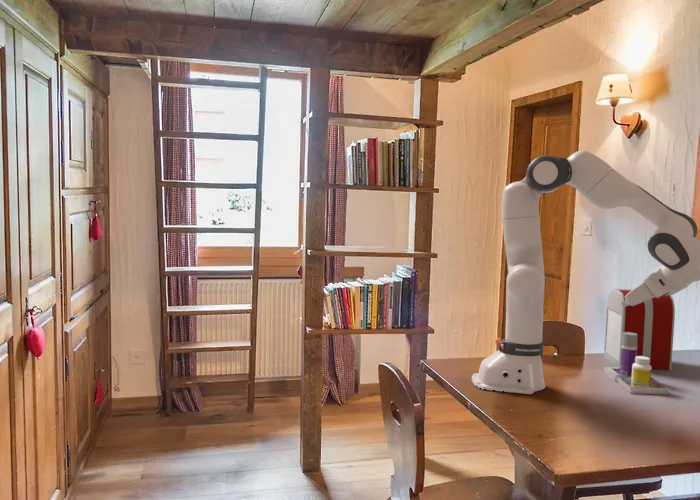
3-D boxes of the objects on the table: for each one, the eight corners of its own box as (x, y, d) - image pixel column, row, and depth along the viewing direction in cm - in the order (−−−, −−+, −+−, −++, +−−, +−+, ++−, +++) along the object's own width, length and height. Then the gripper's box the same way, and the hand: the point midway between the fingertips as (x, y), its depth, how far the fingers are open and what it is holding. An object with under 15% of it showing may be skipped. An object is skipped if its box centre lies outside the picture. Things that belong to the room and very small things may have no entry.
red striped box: (602, 355, 210) (606, 285, 208) (651, 357, 208) (656, 287, 206) (619, 368, 194) (624, 292, 191) (672, 371, 192) (677, 294, 190)
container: (637, 380, 180) (639, 335, 179) (621, 379, 181) (624, 334, 180) (632, 376, 185) (635, 332, 183) (617, 375, 186) (620, 331, 184)
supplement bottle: (652, 391, 170) (654, 360, 169) (633, 390, 171) (635, 359, 170) (647, 386, 175) (649, 355, 174) (628, 384, 176) (630, 354, 175)
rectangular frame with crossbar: (667, 394, 167) (668, 388, 167) (630, 393, 168) (630, 386, 168) (637, 373, 188) (637, 367, 188) (603, 372, 189) (604, 366, 188)
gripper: (677, 263, 169) (641, 284, 180) (644, 278, 158) (607, 300, 168) (690, 280, 167) (653, 300, 178) (658, 297, 156) (620, 318, 166)
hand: (631, 300), depth 173 cm, fingers open, 8 cm apart
